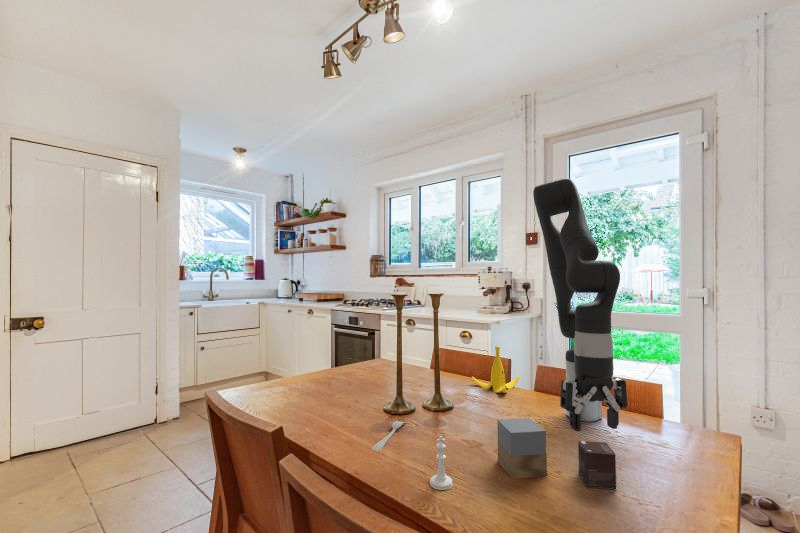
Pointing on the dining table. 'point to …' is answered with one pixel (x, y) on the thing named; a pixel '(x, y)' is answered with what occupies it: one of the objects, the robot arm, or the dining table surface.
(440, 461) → the chess piece
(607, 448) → the box
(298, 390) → the dining table surface
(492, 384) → the banana peel
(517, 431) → the tower top
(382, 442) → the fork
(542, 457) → the tower bottom
